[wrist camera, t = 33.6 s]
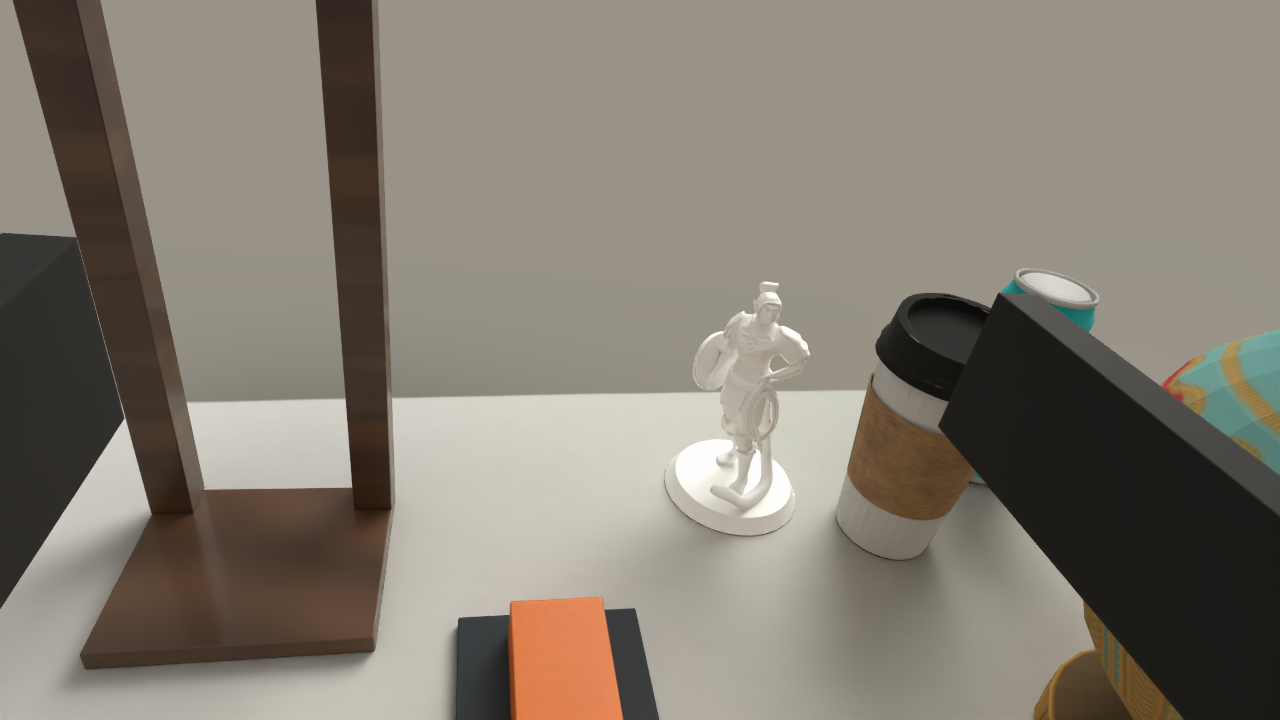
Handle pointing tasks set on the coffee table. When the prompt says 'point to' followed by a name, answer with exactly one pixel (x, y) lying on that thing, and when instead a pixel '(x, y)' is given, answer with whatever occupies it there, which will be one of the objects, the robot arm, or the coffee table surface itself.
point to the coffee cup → (910, 429)
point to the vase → (1256, 420)
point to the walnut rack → (153, 392)
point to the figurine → (740, 426)
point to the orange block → (561, 661)
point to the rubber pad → (488, 667)
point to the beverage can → (1055, 299)
